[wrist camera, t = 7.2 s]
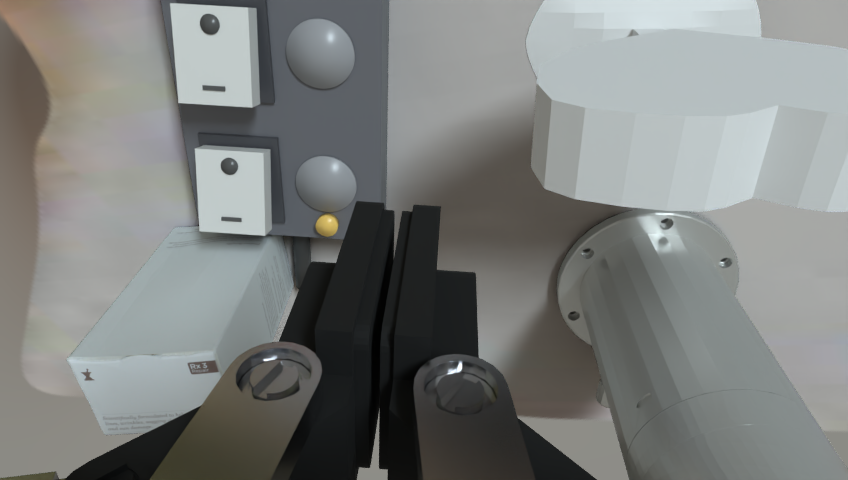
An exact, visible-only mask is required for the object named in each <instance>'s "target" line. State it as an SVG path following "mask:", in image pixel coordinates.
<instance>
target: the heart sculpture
mask: <svg viewBox="0 0 848 480" xmlns="http://www.w3.org/2000/svg"><path fill="white" fill-rule="evenodd" d="M525 43H526V49H527V54H528V58H529V60H530V63H531V66H532V68H533V71H534V73H535V75H536V77H537V86H536V100H535V114H534V127H533V141H532V155H531V169H532V170H533V172H534V173H535V175H536V177H537V178H538V180H539V181H540V183H541V184H542V186H543V188H544V189H547V190H549V191H552V192H555V193H558V194H561V195H564V196H567V197H570V198H573V199H577V200H583V201H589V202H596V203H602V204H609V205H615V206H622V207H632V208H643V209H653V210H663V211H709V210H715V209H720V208H726V207H728V206H731V205H734V204H737V203H739V202H742V201H745V200H748V199H750V198H755V199H759V200H764V201H768V202H773V203H777V204H782V205H786V206H791V207H795V208H802V209H809V210H816V211H823V212H848V49H845V48H840V47H834V46H826V45H818V44H810V43H803V42H795V41H787V40H779V39H772V38H762V37H761V20H760V15H759V9H758V6H757V3H756V0H544V1H543V3H542V5H541V6H540V8H539V10H538V11H537V13H536V15H535V17H534V19H533V21H532V23H531V25H530V28H529V31H528V34H527V38H526V41H525Z"/></svg>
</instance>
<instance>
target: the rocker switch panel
mask: <svg viewBox="0 0 848 480" xmlns="http://www.w3.org/2000/svg"><path fill="white" fill-rule="evenodd" d="M170 3H178V4H196V5H213V6H230V7H247V8H256V9H257V35H258V61H259V86H260V104H259V105H257V106H255V107H253V108H250V107H234V106H218V105H202V104H186V103H178V105H179V111H180V116H181V122H182V128H183V134H184V140H185V146H186V152H187V157H188V163H189V169H190V175H191V181H192V187H193V192H194V198H195V204H196V210H197V216H198V222H199V214H198V196H197V178H196V160H195V148H198V147H200V146H203V145H211V146H227V147H243V148H258V149H270V158H271V212H272V230H271V231H270V232H269V233H268V234H270V235H285V236H292V238H293V250H294V263H295V276H296V287H297V288H298V289H300V287H301V284H302V282H303V279H304V276H305V274H306V271H307V269H308V266H309V265H310V263H311V252H310V237H315V238H330V239H344V237H345V234H346V231H347V228H348V225H349V222H350V219H351V216H352V213H353V210H354V206H355V203H356V201H364V202H379V203H384V205H385V210H386V180H387V111H388V42H389V0H161V5H162V11H163V17H164V23H165V29H166V35H167V40H168V46H169V52H170V58H171V64H172V70H173V76H174V81H175V87H176V93H177V99H178V91H177V80H176V68H175V56H174V44H173V33H172V21H171V9H170Z"/></svg>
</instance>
